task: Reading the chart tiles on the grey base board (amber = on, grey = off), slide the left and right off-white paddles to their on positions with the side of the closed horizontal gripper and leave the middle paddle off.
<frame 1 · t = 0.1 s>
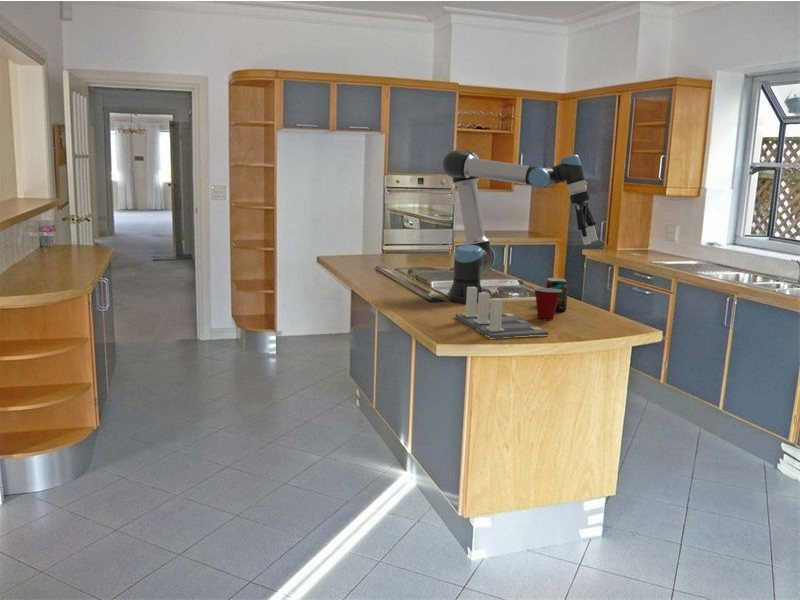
hand: (591, 242, 291), 28 cm above the table, tool tilted 20°, fingers open, 13 cm apart
slider A: (471, 301, 268), point 7 cm above the table, slide at 0.0 cm
beverage can: (557, 311, 291), on the table
grey base board: (499, 326, 261), on the table
canned food: (554, 305, 303), on the table
plastic cup: (545, 318, 277), on the table
slider B: (483, 307, 257), point 7 cm above the table, slide at 0.0 cm
slider C: (496, 314, 247), point 7 cm above the table, slide at 0.0 cm
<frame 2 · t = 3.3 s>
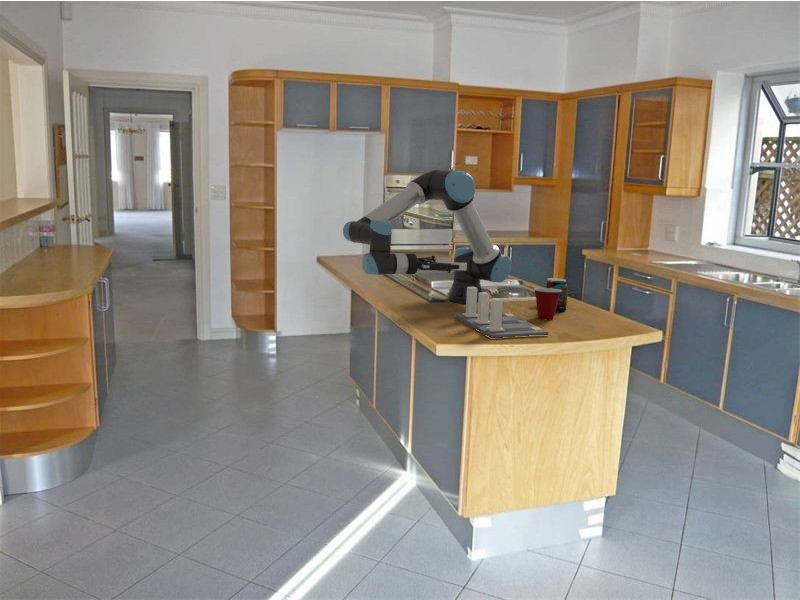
hand: (458, 263, 262), 22 cm above the table, tool horizontal, fingers open, 13 cm apart
nothing on the table moved.
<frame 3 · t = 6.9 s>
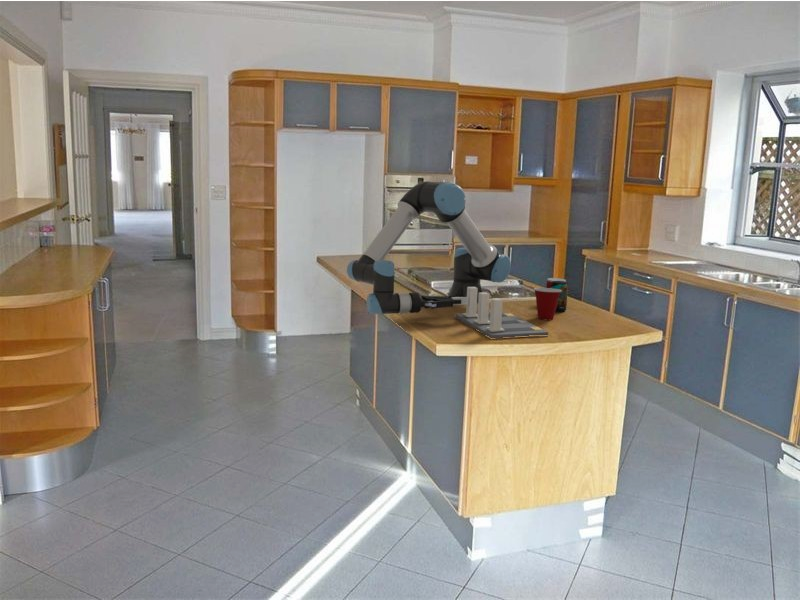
hand: (467, 300, 267), 8 cm above the table, tool horizontal, fingers closed
slider A: (471, 301, 268), point 7 cm above the table, slide at 0.1 cm, touching gripper
everything else where it was.
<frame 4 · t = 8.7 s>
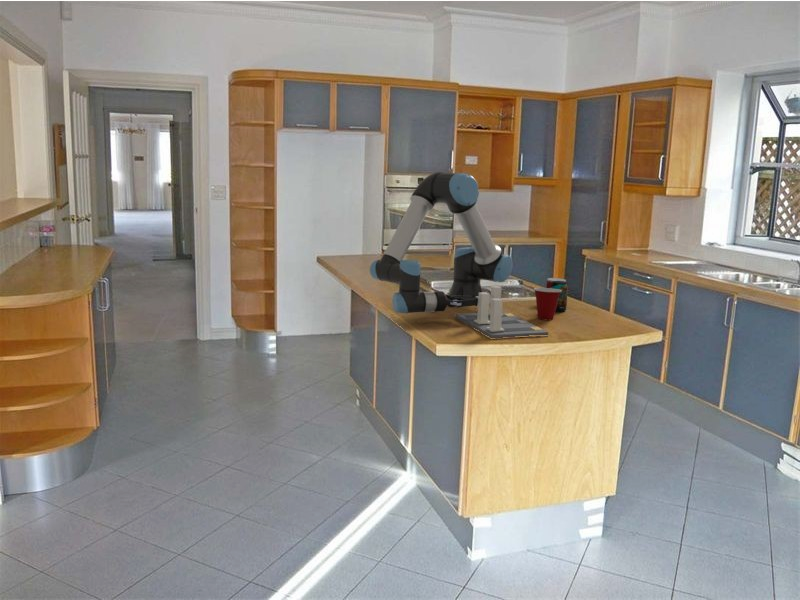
hand: (491, 299, 270), 8 cm above the table, tool horizontal, fingers closed
slider A: (495, 300, 271), point 7 cm above the table, slide at 10.0 cm
everything else where it was.
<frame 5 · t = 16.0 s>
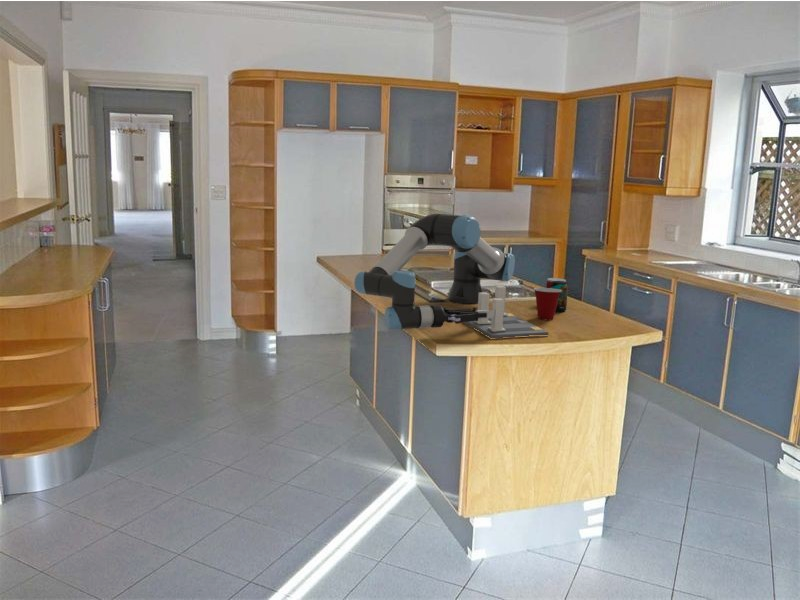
hand: (493, 313, 246), 8 cm above the table, tool horizontal, fingers closed
slider A: (499, 300, 271), point 7 cm above the table, slide at 11.8 cm
slider C: (497, 314, 247), point 7 cm above the table, slide at 0.5 cm, touching gripper
everything else where it was.
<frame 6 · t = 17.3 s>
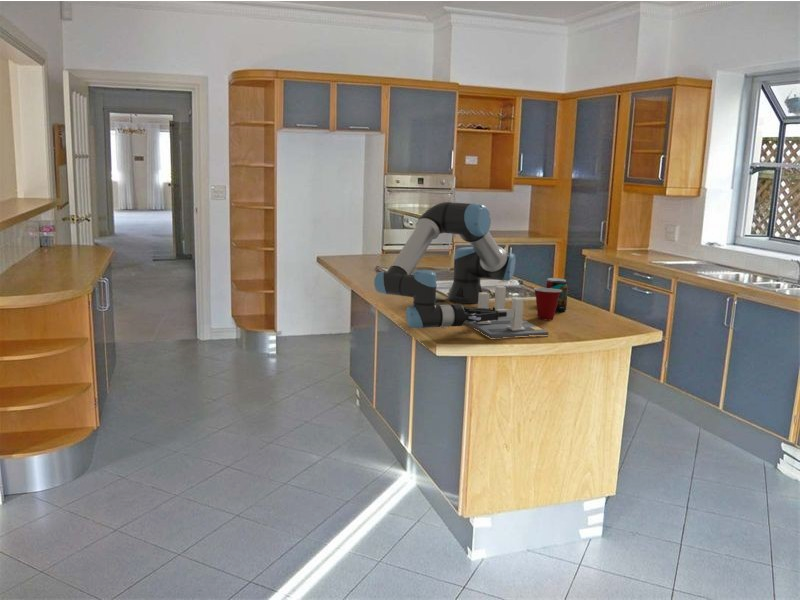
hand: (513, 313, 248), 8 cm above the table, tool horizontal, fingers closed
slider C: (516, 313, 250), point 7 cm above the table, slide at 8.1 cm, touching gripper
everything else where it was.
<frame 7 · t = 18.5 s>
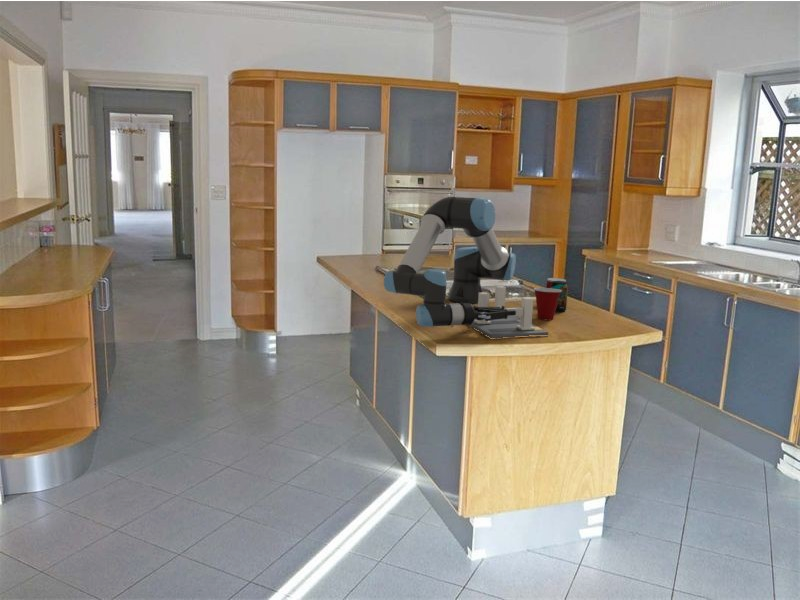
hand: (522, 311, 250), 8 cm above the table, tool horizontal, fingers closed
slider C: (526, 313, 251), point 7 cm above the table, slide at 11.8 cm, touching gripper
everything else where it was.
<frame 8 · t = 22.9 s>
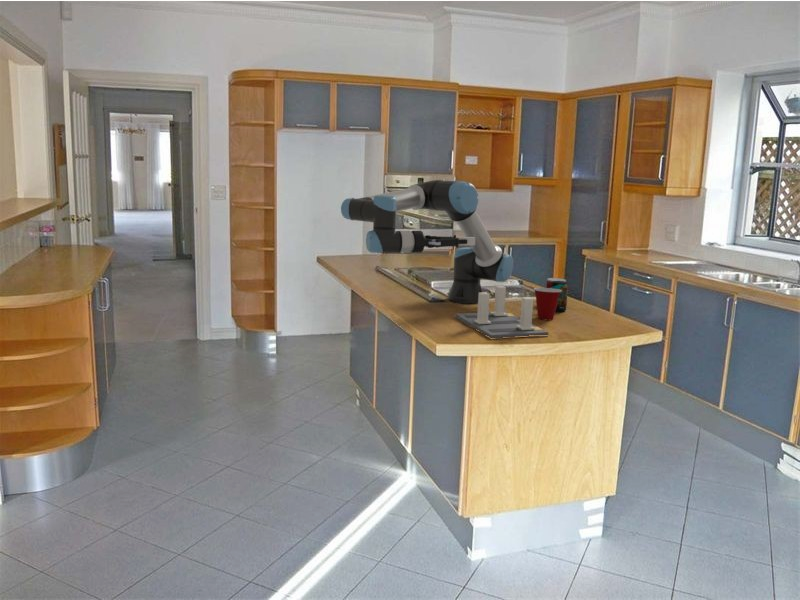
hand: (474, 241, 250), 32 cm above the table, tool horizontal, fingers closed
slider C: (526, 313, 251), point 7 cm above the table, slide at 11.8 cm
everything else where it was.
at the end: slider A slide at 11.8 cm; slider C slide at 11.8 cm; slider B slide at 0.0 cm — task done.
